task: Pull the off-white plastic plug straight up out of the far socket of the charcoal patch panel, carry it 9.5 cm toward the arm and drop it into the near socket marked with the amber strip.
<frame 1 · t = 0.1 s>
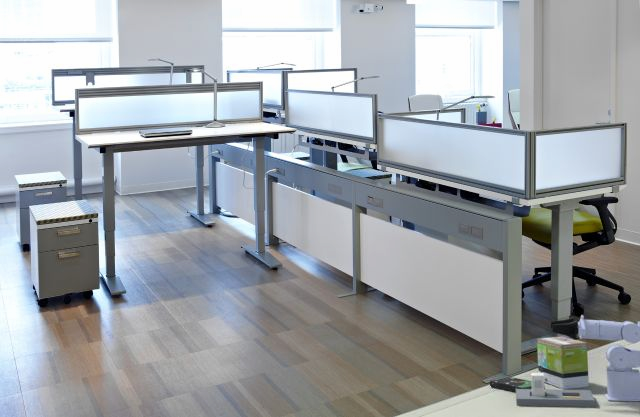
hand: (551, 326, 237), 22 cm above the table, tool horizontal, fingers open, 7 cm apart
disk drive: (517, 391, 250), on the table
tea box: (563, 384, 256), on the table
plug: (538, 400, 233), resting in patch panel
patch panel: (554, 401, 231), on the table
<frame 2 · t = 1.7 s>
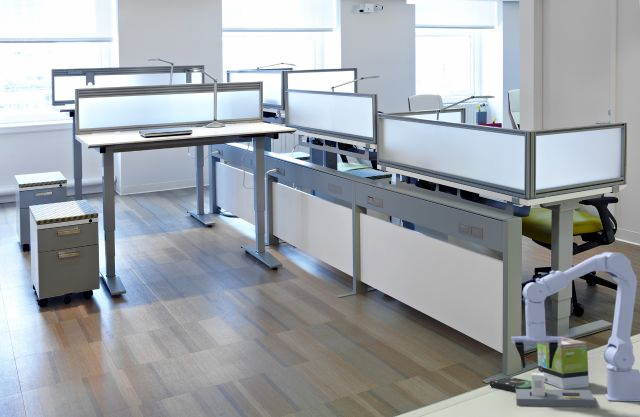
hand: (537, 367, 233), 10 cm above the table, tool pointing down, fingers open, 7 cm apart
nothing on the table moved.
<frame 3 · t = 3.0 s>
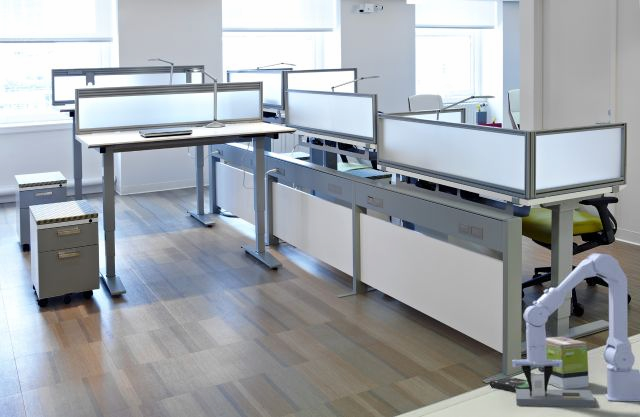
hand: (538, 391, 233), 3 cm above the table, tool pointing down, fingers closed on plug, 4 cm apart
plug: (538, 400, 233), resting in patch panel, touching gripper
everything else where it was.
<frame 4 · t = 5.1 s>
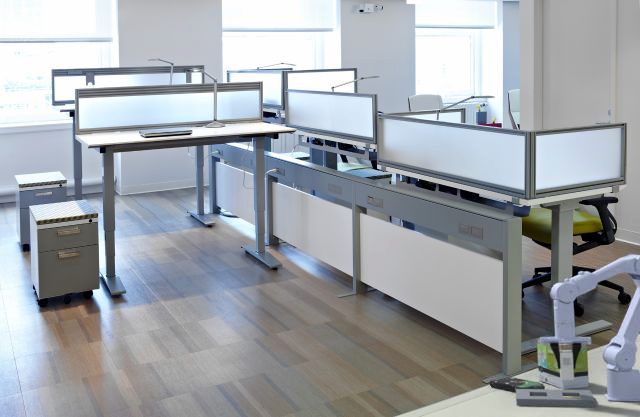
hand: (566, 368, 231), 10 cm above the table, tool pointing down, fingers closed on plug, 4 cm apart
plug: (567, 378, 231), point 7 cm above the table, touching gripper
everything else where it was.
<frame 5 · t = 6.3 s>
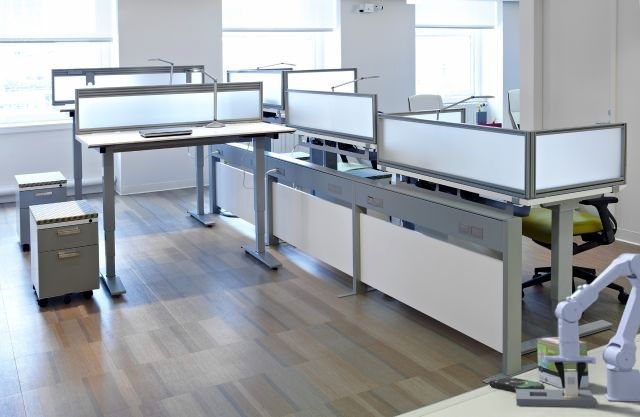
hand: (570, 387, 230), 4 cm above the table, tool pointing down, fingers closed on plug, 4 cm apart
plug: (571, 397, 230), point 1 cm above the table, touching gripper
everything else where it was.
when the fingers open (4 cm above the table, at t = 7.1 s): plug stays where it is, resting in patch panel.
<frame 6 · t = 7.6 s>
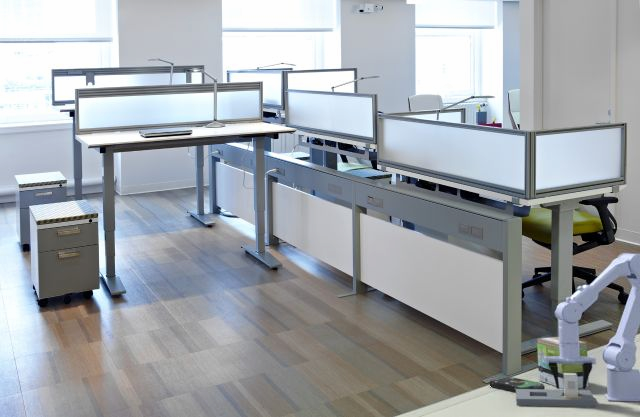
hand: (570, 388, 230), 4 cm above the table, tool pointing down, fingers open, 7 cm apart
plug: (571, 401, 230), resting in patch panel
everything else where it was.
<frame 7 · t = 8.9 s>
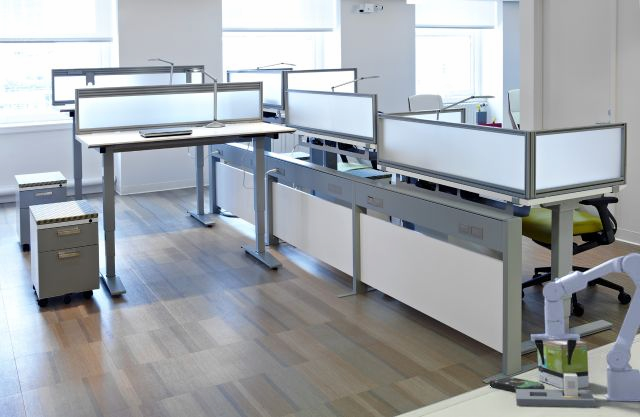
hand: (556, 364, 240), 9 cm above the table, tool pointing down, fingers open, 7 cm apart
nothing on the table moved.
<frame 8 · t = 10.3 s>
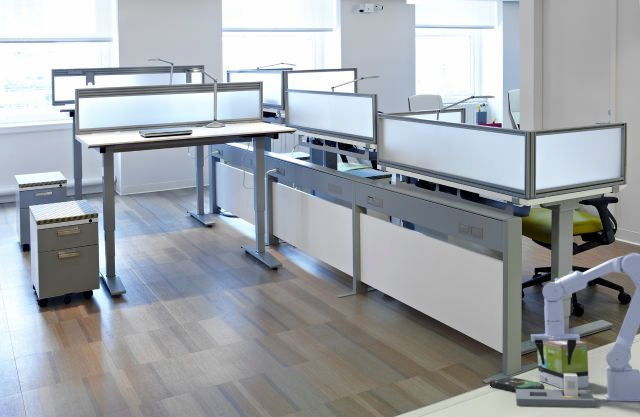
hand: (556, 364, 240), 9 cm above the table, tool pointing down, fingers open, 7 cm apart
nothing on the table moved.
at the end: plug 0.0 cm from the target spot on the patch panel, point 0.0 cm above the patch panel's base; plug tilted 0°; the gripper is holding nothing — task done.
